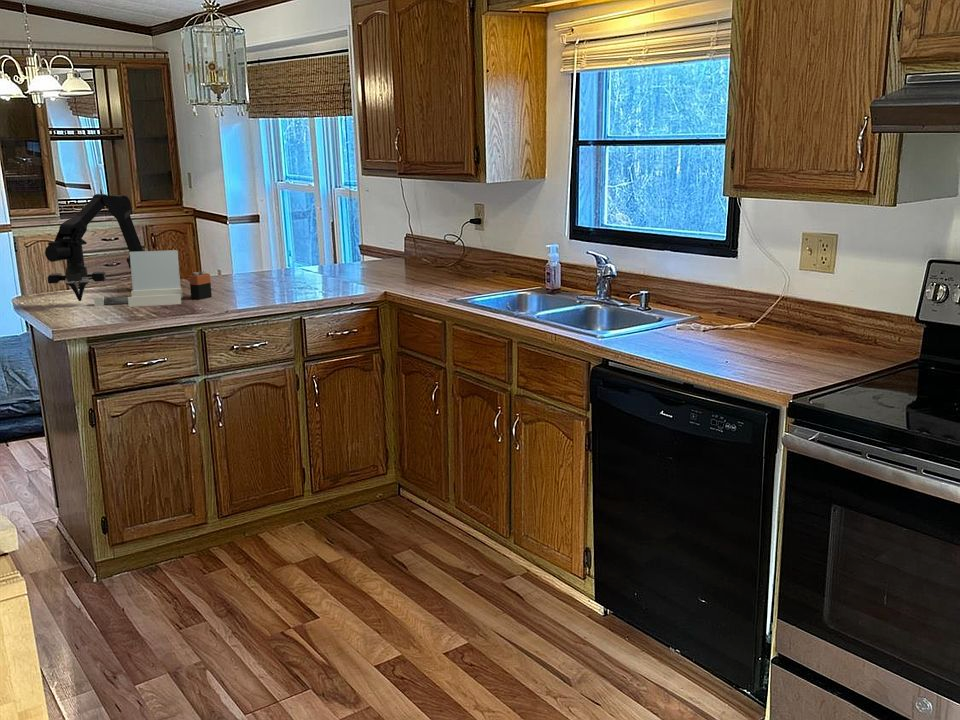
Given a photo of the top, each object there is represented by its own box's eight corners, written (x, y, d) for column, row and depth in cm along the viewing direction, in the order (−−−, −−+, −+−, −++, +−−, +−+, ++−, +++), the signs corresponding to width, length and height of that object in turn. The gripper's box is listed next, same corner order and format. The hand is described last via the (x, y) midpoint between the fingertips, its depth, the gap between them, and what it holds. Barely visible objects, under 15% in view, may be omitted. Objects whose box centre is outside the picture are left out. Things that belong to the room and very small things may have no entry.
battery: (190, 299, 327) (188, 272, 324) (204, 296, 332) (202, 270, 330) (198, 300, 324) (196, 273, 322) (212, 297, 330) (210, 271, 328)
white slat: (132, 299, 325) (131, 290, 324) (182, 297, 330) (181, 288, 329) (128, 306, 312) (127, 297, 311) (181, 304, 317) (180, 294, 316)
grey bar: (95, 304, 316) (94, 296, 315) (131, 302, 319) (130, 294, 318) (94, 306, 313) (93, 298, 312) (130, 304, 316) (129, 296, 316)
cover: (132, 290, 324) (133, 290, 325) (180, 288, 329) (180, 288, 330) (129, 251, 323) (129, 251, 324) (177, 250, 328) (177, 250, 329)
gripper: (42, 262, 299) (47, 306, 303) (100, 260, 304) (105, 303, 308) (47, 258, 309) (53, 300, 313) (103, 256, 314) (108, 298, 318)
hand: (80, 300), depth 313 cm, fingers closed
